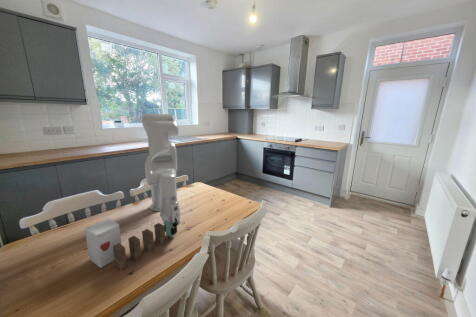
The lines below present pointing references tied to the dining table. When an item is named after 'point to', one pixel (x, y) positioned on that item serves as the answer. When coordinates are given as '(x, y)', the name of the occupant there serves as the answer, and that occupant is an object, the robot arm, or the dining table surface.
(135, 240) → the domino
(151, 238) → the domino
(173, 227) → the robot arm
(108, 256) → the supplement box
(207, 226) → the dining table surface
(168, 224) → the domino
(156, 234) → the domino
